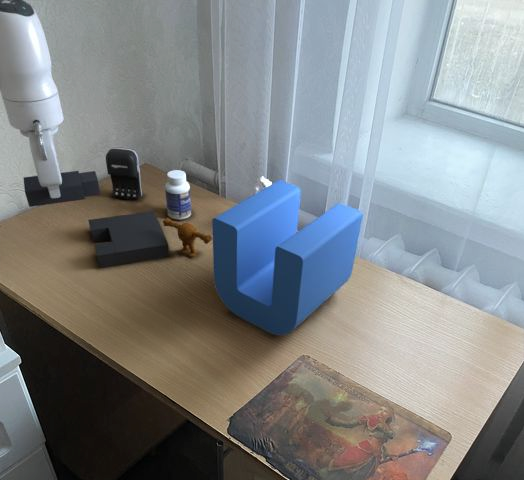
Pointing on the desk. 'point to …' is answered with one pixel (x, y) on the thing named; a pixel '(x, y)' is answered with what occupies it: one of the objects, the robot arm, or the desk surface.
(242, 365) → the desk surface
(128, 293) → the desk surface
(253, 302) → the block
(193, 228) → the toy figurine
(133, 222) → the black pad
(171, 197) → the pill bottle
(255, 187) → the white creature statuette
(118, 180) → the battery charger
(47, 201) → the charcoal pad
